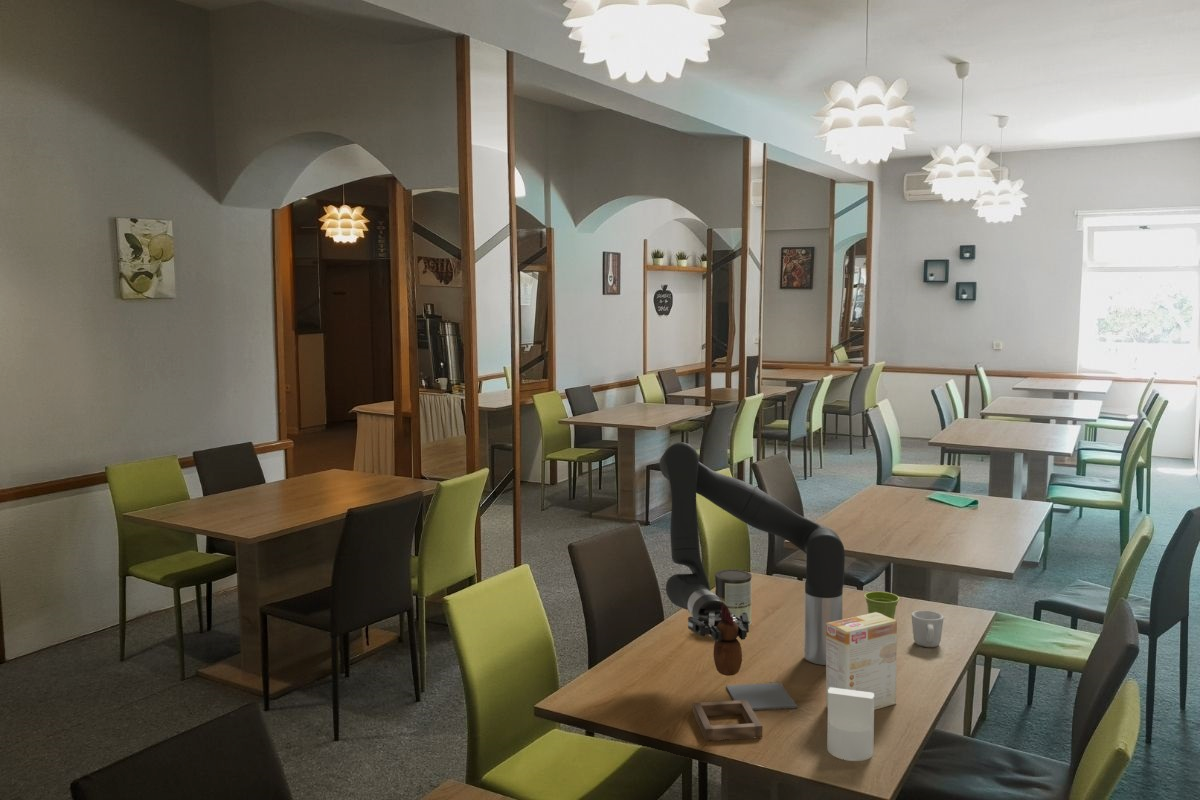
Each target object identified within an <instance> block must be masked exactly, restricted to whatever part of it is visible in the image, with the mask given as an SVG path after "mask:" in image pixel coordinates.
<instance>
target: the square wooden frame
mask: <svg viewBox="0 0 1200 800" xmlns="http://www.w3.org/2000/svg"><path fill="white" fill-rule="evenodd" d="M692 708H693V710H692V712H693V713H692V714H693V717H694V719H695V721H696V723H697V726H698V728H699V727H700V728H699V730H700V729H701V730H700V732H701V734H702V737H703V738H705V739H704V741H705V740H713V741H720V740H719V739H722V740H721V741H723V739H724V740H725V739H730V740H742V739H741V738H747V739H755V738H754V737H762V738H763V725H762V723H761V722H760V720H759V718H758V717H757V716H758V715H756V713H755V712H754V711H755V710H752V708H751V707H750V705H749V703H748V702H747V700H737V701H734V700H721V701H704V702H702V701H701V702H692ZM730 715H731V716H732V715H733V716H735V715H741V716H742V718H743V719H744V721H745V723H738V724H737V723H736V724H718V725H717V724H716V725H711V723H710V720H709V718H708V717H713V716H716V717H717V716H730ZM725 741H726V740H725Z"/></svg>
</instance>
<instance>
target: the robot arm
mask: <svg viewBox="0 0 1200 800" xmlns="http://www.w3.org/2000/svg"><path fill="white" fill-rule="evenodd" d="M699 458H700V457H699V453H698V451H697V450H696V449H695V447H693V446H692V445H691V444H689V443H686V442H683V441H682V442H681V441H680V442H676V443H673V444H671V445H670V446H668V447H667V449H666V450H665V451H664V452H663V454H662V455H661V457H660V460H659V469H660V472H661V474H662V476H664V478H665V479H667V480H668V481H669V485H670V493H671V495H670V496H671V510H670V511H671V512H670V513H671V514H670V526H669V527H670V530H669V531H670V532H669V533H670V535H669V537H670V550H671V560H672V562H673V563H675V564H676V565H680V566H682V565H683V566H686V567H688V568H689V569H690V572H691V573H677V574H672V575H671V576H669V578H668V579H667V581H666V584H665V592H666V595H667V598H668V600H669V601H670V602H671V603H672V604H674V605H675V606H677V607H679V608H681V609H684V610H686V611H688V613H689V614H690V616H688V617H687V626H688V627H687V628H688V630H690V631H691V632H693V633H695V634H697V635H698V636H701V637H706V635H708V637H711V638H712V639H713V640H714V641H716V640H717V642H721V631H720V630H719V629H718V628H717V625H718V623H719V622H720V621H721V609H722V602H723V601H722V600H721V599H720V598H719V597H718V596H717V595H715V592H712V591H711V587H710V582H709V579H708V576H707V573H706V571H705V567H704V566H703V562H702V557H701V551H700V549H701V548H700V538H699V537H700V536H699V527H698V525H699V524H698V511H697V494H698V495H700V496H701V497H703V498H705V499H706V500H708V501H709V502H711V503H712V504H714V505H715V506H716V507H719V508H720V509H721V510H723V511H725V512H727V513H728V514H729V515H731V516H733V517H735V518H737V519H738V520H740V521H741V522H743V523H745V524H746V525H748V526H749V527H752V528H754V529H756V530H759V531H763V532H764V533H768V534H771V535H774V536H777V537H780V538H782V539H784V540H786V541H788V542H789V543H791V544H792V545H794V546H795V547H796V548H798V549H799V550H801V551H802V552H803V553H805V554H806V570H805V571H806V572H805V573H806V576H805V582H804V650H803V651H804V659H805V660H806V661H808V662H809V663H813V664H816V665H822V666H826V623H829V622H834V621H838V620H843V593H844V590H843V588H844V585H845V561H846V559H845V556H846V555H845V554H846V552H845V547H844V543H843V542H842V540H841V538H840V536H839V535H838V534H837V533H836V532H835V530H832V529H831V528H829V527H827V526H824V525H822V524H820V523H818V522H816V521H813V520H810V519H808V518H807V517H804V516H802V515H801V514H798V513H797V512H795V511H793V510H792V509H791V508H789V506H786V505H785V504H784V503H782V502H781V501H779V500H778V499H776V498H774V497H773V496H771V495H770V494H768V493H767V492H765V491H764V490H762V489H761V488H758V487H757V486H754V485H753V484H750V483H749V482H746V481H743V480H741V479H738V478H736V477H732V476H729V475H728V476H727V475H724V474H721V473H720V472H717V471H715V470H712V469H711V468H709V466H706V465H705V464H703V463H701V462H700V461H699V460H700V459H699ZM723 603H724V602H723ZM724 608H725V609H726V604H725V603H724ZM727 608H728V607H727ZM728 612H730V611H729V609H728ZM730 615H731V617H733V621H734V622H736V623H737V625H738V631H739V634H738V637H737V638H740V640H741V641H742V640H744V641H745V640H746V638H747V637H748V636H747V634H748V633H749V631H750V630H749V627H750V625H749V620H748V615H747V613H745V612H744V613H742V615H740V616H735V615H734V614H733V613H731V612H730Z"/></svg>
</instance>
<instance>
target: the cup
mask: <svg viewBox="0 0 1200 800" xmlns="http://www.w3.org/2000/svg"><path fill="white" fill-rule="evenodd" d="M944 619H945V617H944V615H943V614H942V613H940V612H936V611H933V610H925V609H922V610H915V611H913V612H911V624H912V625H911V626H912V635H913V641H914V642H915V644H916V645H918V646H921V647H924V648H936V647H938V646H939V645H940V643H941V641H942V634H943V633H942V632H943V625H944Z"/></svg>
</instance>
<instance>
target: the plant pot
mask: <svg viewBox="0 0 1200 800" xmlns="http://www.w3.org/2000/svg"><path fill="white" fill-rule="evenodd" d="M863 596H864V598H865V601H866V605H867V614H869V613H874V612H877V613H880V614H883V615H884V616H887V617H889V618H892V619H894V620H895V614H896V609H897V606H898V602H899V601H900V597H899V596H898V595H897V594H895V593H891V592H888V591H869V592H867V593H864V595H863Z"/></svg>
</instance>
